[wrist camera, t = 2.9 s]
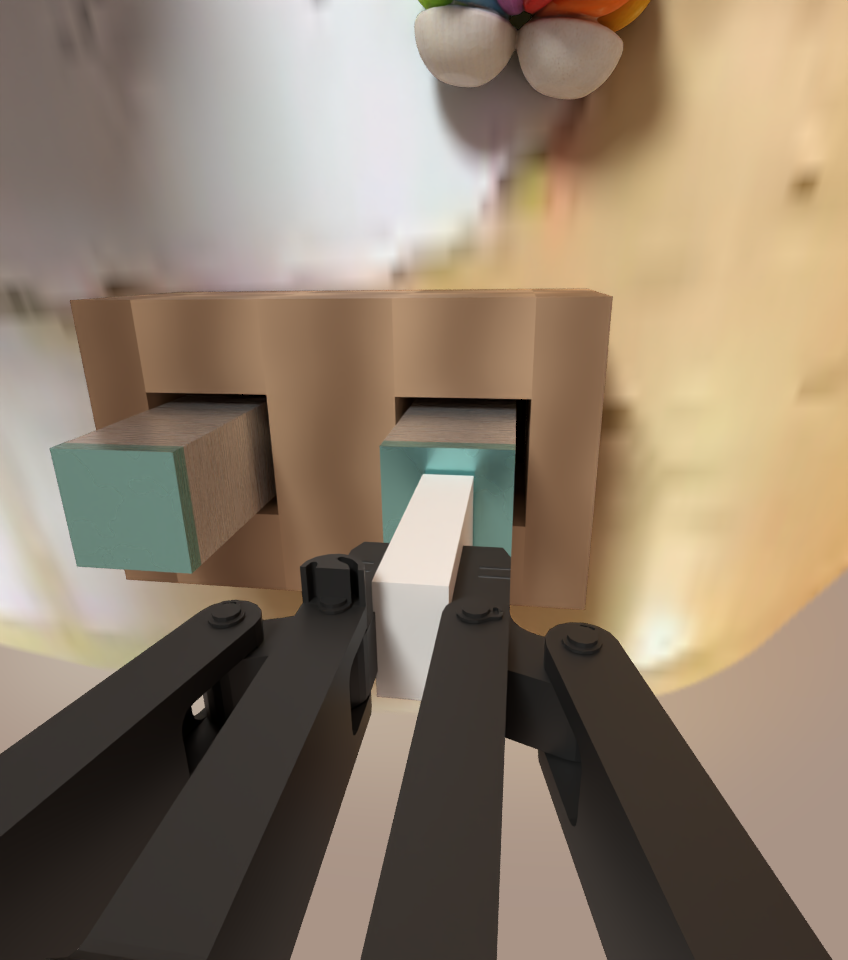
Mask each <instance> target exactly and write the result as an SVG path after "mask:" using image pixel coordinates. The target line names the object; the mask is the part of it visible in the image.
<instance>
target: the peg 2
mask: <svg viewBox="0 0 848 960" xmlns="http://www.w3.org/2000/svg"><path fill="white" fill-rule="evenodd" d="M515 446H516V399H494V398H437V397H417V398H416V400H415V401H414V402H413V403H412V405H411V406H410V407H409V409H408V410H407V411H406V412H405V414H404V415H403V416H402V418H401V419H400V420H399V422H398V423H397V424H396V425H395V427H394V428H393V429H392V431H391V432H390V433H389V434H388V436H387V437H386V438H385V440H384V441H383V442H382V444H381V445H380V471H381V496H382V521H383V543H390V542H391V540H392V538H393V536H394V533H395V531H396V529H397V527H398V525H399V523H400V521H401V519H402V517H403V515H404V512H405V510H406V508H407V506H408V504H409V502H410V500H411V498H412V496H413V494H414V491H415V489H416V487H417V485H418V483H419V481H420V479H421V477H422V475H423V474H436V475H463V476H474V486H473V546H482V547H501V548H504V549H505V551H506V552H507V553H508V554H509V556H510V557H511V549H512V524H513V499H514V473H515Z"/></svg>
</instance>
